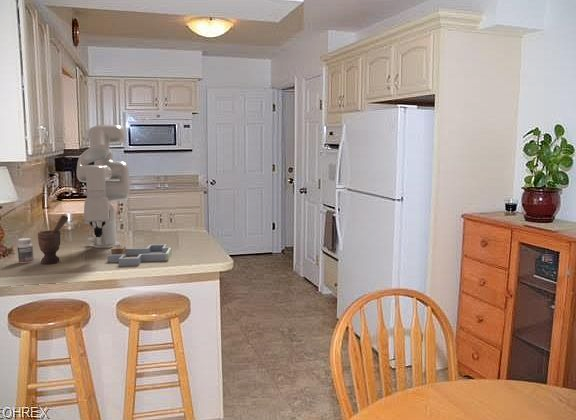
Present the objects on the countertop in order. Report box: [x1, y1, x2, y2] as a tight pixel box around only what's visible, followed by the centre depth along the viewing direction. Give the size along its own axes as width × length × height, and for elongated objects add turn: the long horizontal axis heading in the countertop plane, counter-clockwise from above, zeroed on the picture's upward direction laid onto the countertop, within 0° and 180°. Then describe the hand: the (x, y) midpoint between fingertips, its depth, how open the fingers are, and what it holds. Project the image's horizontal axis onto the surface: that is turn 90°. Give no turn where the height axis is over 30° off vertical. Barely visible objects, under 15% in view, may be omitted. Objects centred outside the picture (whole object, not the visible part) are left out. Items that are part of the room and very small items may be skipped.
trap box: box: [107, 244, 173, 267], centre depth 222 cm, size 25×27×3 cm
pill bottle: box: [17, 237, 35, 264], centre depth 215 cm, size 6×6×10 cm
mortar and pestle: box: [37, 214, 69, 265], centre depth 214 cm, size 12×9×20 cm
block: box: [110, 245, 127, 258], centre depth 221 cm, size 5×5×5 cm
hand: (98, 236), depth 218 cm, fingers closed
